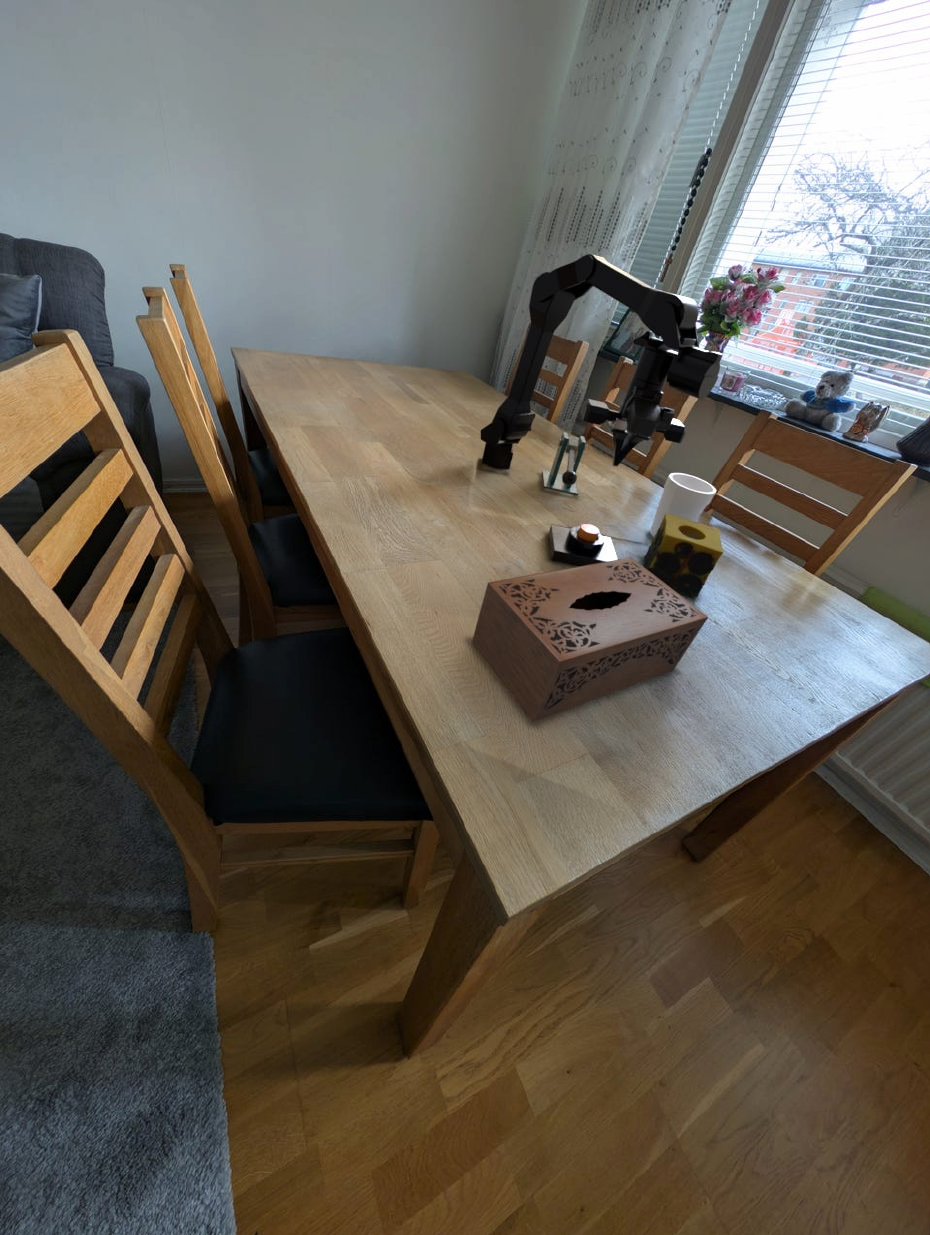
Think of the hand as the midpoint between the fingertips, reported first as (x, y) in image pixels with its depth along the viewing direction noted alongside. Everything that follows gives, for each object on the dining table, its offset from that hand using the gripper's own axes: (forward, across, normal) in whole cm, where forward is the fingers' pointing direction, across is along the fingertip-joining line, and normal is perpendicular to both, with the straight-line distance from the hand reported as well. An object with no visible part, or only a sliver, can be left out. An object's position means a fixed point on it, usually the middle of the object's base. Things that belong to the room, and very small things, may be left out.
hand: (614, 465), depth 94 cm
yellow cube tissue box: (+13, +13, -16) cm, 24 cm away
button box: (+13, -4, -14) cm, 20 cm away
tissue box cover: (+13, -8, -44) cm, 47 cm away
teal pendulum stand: (+13, -6, +17) cm, 22 cm away
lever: (+7, -6, +13) cm, 16 cm away
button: (+9, -4, -14) cm, 17 cm away
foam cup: (+13, +16, 0) cm, 21 cm away
